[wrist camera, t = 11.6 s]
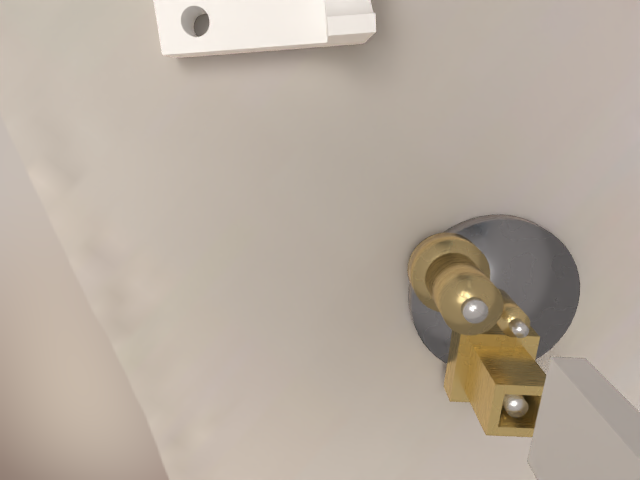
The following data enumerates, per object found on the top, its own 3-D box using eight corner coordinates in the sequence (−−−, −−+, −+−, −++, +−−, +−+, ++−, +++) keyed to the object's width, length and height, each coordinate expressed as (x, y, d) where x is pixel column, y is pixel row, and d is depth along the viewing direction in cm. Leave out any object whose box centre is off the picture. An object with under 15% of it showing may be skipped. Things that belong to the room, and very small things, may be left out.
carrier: (409, 209, 37) (438, 247, 28) (585, 218, 37) (668, 259, 28) (392, 359, 40) (413, 433, 32) (552, 366, 41) (616, 441, 32)
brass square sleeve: (453, 320, 38) (483, 370, 31) (528, 324, 38) (574, 374, 31) (443, 386, 40) (469, 446, 33) (515, 389, 40) (555, 450, 33)
